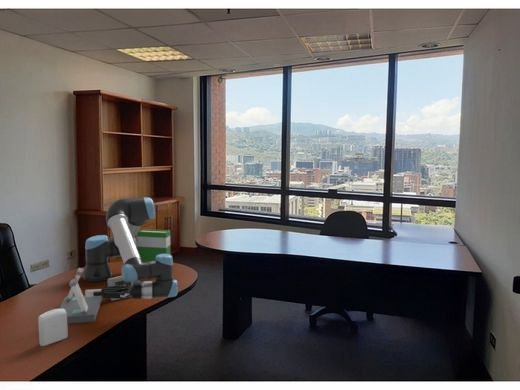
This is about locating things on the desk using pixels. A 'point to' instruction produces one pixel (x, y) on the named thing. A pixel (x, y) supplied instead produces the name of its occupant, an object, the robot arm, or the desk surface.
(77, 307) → the switch unit
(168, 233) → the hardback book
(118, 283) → the digital clock
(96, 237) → the robot arm
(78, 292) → the lever
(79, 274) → the lever
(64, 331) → the photo printer
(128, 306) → the desk surface
